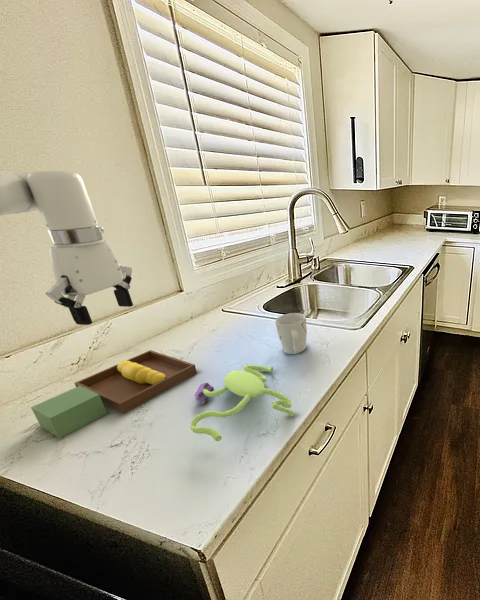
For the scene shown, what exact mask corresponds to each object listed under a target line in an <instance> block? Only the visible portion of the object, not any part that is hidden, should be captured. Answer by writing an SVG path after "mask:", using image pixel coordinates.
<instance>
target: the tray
mask: <svg viewBox="0 0 480 600" xmlns="http://www.w3.org/2000/svg"><path fill="white" fill-rule="evenodd" d="M125 361H130V362H133V363H137V364H140V365H143V366H146V367H148V368H151V369H152V370H155V371H158V372H161V373H163V374H165V375H166V377H167V378H166V379H164V380H162V381H160V382H158V383H156V384H154V385H151V384H149V383H146V384H140V383H137V382H135V381H133V380H130V379H128V378H125V377H124V376H123V375H122V374H121V372H119V371H118V369H117V366H118V364H119V363H117V364H115V365H112V366H110V367H108V368H105V369H102V370H101V371H99V372H96V373H94V374H92V375H88V376H87V377H85V378H83V379H80V380H78V381H76V382H74V386H75V388H76V387H78V386H81V387H84V388H86V389H88V390H90V391H92V392H94V393H97V394H99V396H100V398H101V400H102V403H103V405H105V406H107V407H109V408H111V409H113V410H115V411H117V412H120V413H122V414H126V413H127V412H129V411H131V410H133V409H134V408H136V407H138V406H140V405H142V404H144V403H146V402H147V401H149V400H151V399H153V398H155V397H156V396H158V395H160V394H162V393H164V392H165V391H167V390H169V389H171V388H173V387H174V386H176V385H178V384H180V383H182V382H184V381H185V380H187V379H189V378H191V377H192V376H194V375H196V374H198V371H197V367H196V364H195V363H191V362H188V361H185V360H182V359H179V358H176V357H173V356H170V355H166V354H163V353H161V352H157V351H155V350H151V349H149V350H148V351H145V352H143V353H140V354H138V355H136V356H133V357H131V358H129V359H127V360H125Z"/></svg>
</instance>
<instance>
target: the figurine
mask: <svg viewBox="0 0 480 600" xmlns="http://www.w3.org/2000/svg"><path fill="white" fill-rule="evenodd" d="M242 368H243V370H240V369H239V370H233V371H230V372H228V373H227V374H225V376H224V379H223V383H224V385H225V386H223V387H221V388H220V389H217V390H215V388H214V386H212V385H211V384H210V383H208V382H203V383H201V384H199V386H198V388H197V390H196V392H195V393H194V395H193V396H194V397H195V398H194V399H195V400H196V401H198V402H199V403H200V404H202V405H203V404H206V403H207V402H208V401H209V398H212V397H218V396H220V395H222V394H225V393H226V392H228V391H230V392H231V393H232V394H234V395H237V396H238V397H242V399H241V400H240V401H239V403H237V405H236V406H234V407H233V408H232V409H229V410H226V411H217V410H206V411H203V412H200V413H199V414H197V415H196V416H195V417H193V419H192V420H191V423H190V425H189V426H190V427H189V429H190V430H191V431H192V432H193V433H195V434H197V435H198V434H199V435H200V434H201V435H202V434H204V435H208V436H211V437H212V438H213V440H214V441H215V442H220V441H222V439H223V436H222V435H221V434H220V432H219V431H218V430H217V429H215V428H212V427H208V426H197V424H198V423H199V422H200V421H202V420H203V419H206V418H210V417H211V418H221V419H222V418H227V417H228V418H229V417H231V416H234V415H236V414H238V413H239V412H240V411H241V410H242V409H243V408H244V407H245V406H246V405H247V404H248V402H249V401H250V400H251V399H252V398H258V397H260V396H262V395H263V394H264V395H269V396H272V397H275V398H277V399H278V400H274V401H273V402H272V409H274V410H275V411H279V412H282V413H285V414H287V415H289V416H290V417H293V416H295V412H293V410H290V409H291V408H292V406H293V405H292V401H291V400H290V399H289V397H287V396H286V395H284V394H282V393H281V392H279V391H277V390H274V389H270V388H265V384H264V383H265V382H267V381H268V377H266V376H265V375H264V374H263V373H261V372H267V373H272V372H273V371H274V366H271V367H269V366H264V365H256V364H255V365H254V364H245V365H244V366H243V367H242Z"/></svg>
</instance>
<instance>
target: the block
mask: <svg viewBox="0 0 480 600" xmlns="http://www.w3.org/2000/svg"><path fill="white" fill-rule="evenodd" d="M104 405H105V404H103V403H102V400H101V398H100V396H99V394H97V393H94V392H92V391H90V390H88V389H86V388H84V387H81V386H78V387H76V386H75V387H73V388H71V389H69V390H67V391H65V392H62V393H60V394H58V395H55V396H53V397H51V398H49V399H47V400H44V401H42V402H39V403H38V404H35V405H33V406H31V407H30V408H31V411H32V412H33V414H34V416H35V419H36V420H37V422H38V424H39V426H40V427H41V428H42V429H44V430H46V431H47V432H49V433H51V434H52V435H54V436H55V437H57V438H59V439H61V438H63V437H65V436H67V435H69V434H71V433H72V432H74V431H76V430H78V429H80V428H82V427H84V426H86V425H87V424H89V423H91V422H93V421H95V420H97V419H99V418H101V417H102V416H104V415H106V414H108V412H107V411H106V408H105V406H104Z"/></svg>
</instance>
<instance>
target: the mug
mask: <svg viewBox="0 0 480 600" xmlns="http://www.w3.org/2000/svg"><path fill="white" fill-rule="evenodd" d="M274 322H275V328H276V332H277V336H278V339H279V341H280V344H281V346H282V349H283V352H284V353H286V354H289V355H295V354H300V353H302V352H303V351H305V349H306V347H307V336H308V334H307V332H308V331H307V330H308V329H307V317H306V315H305V314H303V313H301V312H300V313H299V312H290V313H285V314H282V315H280V316H278V317H276V319H275V321H274Z"/></svg>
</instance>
